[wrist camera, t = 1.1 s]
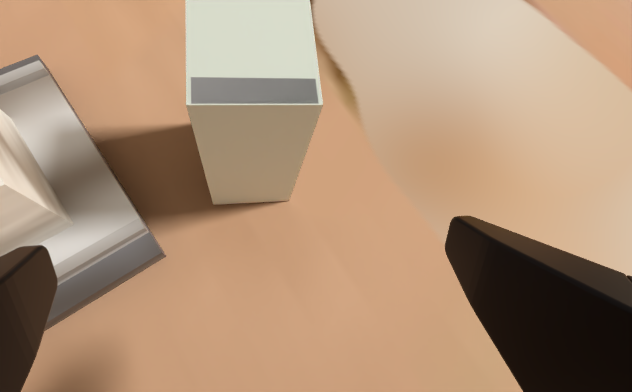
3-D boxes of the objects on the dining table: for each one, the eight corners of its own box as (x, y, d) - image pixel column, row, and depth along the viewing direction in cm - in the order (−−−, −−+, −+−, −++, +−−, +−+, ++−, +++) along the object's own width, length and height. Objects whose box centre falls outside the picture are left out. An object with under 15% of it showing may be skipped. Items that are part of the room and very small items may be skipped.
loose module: (289, 200, 24) (322, 104, 13) (213, 204, 23) (186, 105, 12) (281, 119, 25) (306, -23, 15) (210, 119, 24) (185, -31, 14)
